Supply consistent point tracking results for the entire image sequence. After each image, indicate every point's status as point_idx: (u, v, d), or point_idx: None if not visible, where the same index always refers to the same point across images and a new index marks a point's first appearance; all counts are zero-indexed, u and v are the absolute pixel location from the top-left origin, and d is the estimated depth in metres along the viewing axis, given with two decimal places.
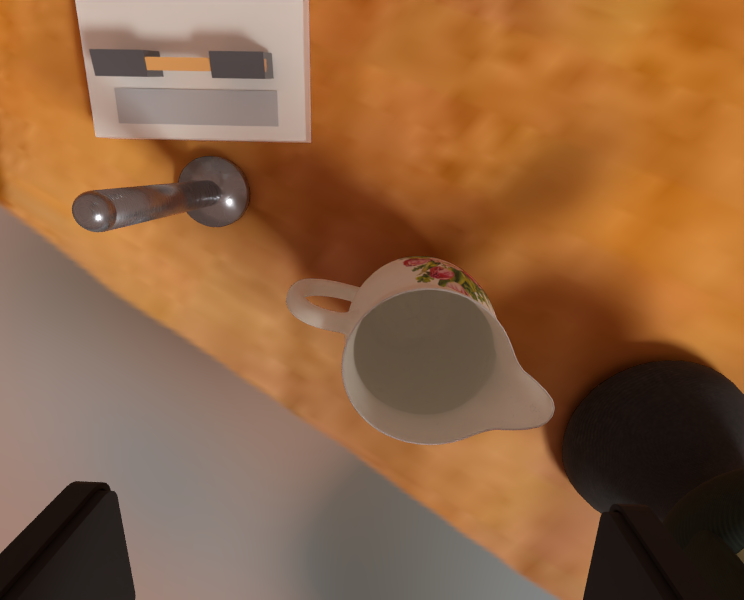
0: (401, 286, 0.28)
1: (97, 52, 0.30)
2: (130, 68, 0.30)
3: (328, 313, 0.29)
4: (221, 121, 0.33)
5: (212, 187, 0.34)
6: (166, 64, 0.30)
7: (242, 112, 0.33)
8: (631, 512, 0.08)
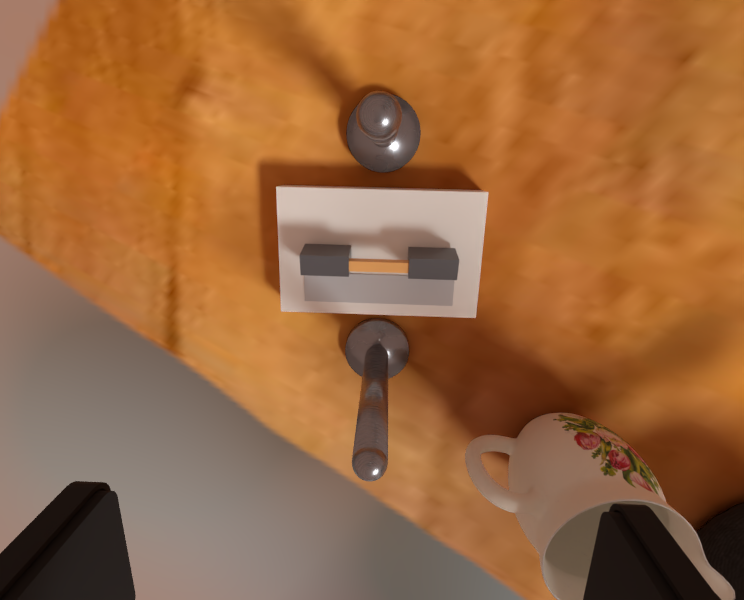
0: (589, 479, 0.31)
1: (306, 258, 0.33)
2: (334, 270, 0.33)
3: (520, 500, 0.32)
4: (399, 300, 0.36)
5: (386, 356, 0.37)
6: (368, 267, 0.33)
7: (420, 294, 0.36)
8: (631, 512, 0.08)
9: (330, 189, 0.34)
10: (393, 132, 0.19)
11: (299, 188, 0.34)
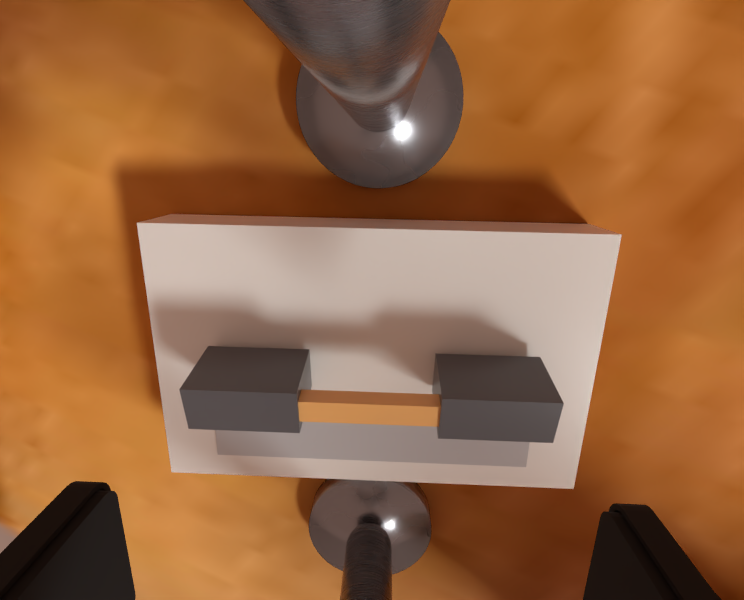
0: None
1: (197, 395, 0.14)
2: (265, 420, 0.14)
3: None
4: (415, 455, 0.17)
5: (388, 560, 0.18)
6: (343, 415, 0.14)
7: (459, 443, 0.17)
8: (631, 512, 0.08)
9: (259, 228, 0.15)
10: None
11: (189, 226, 0.15)
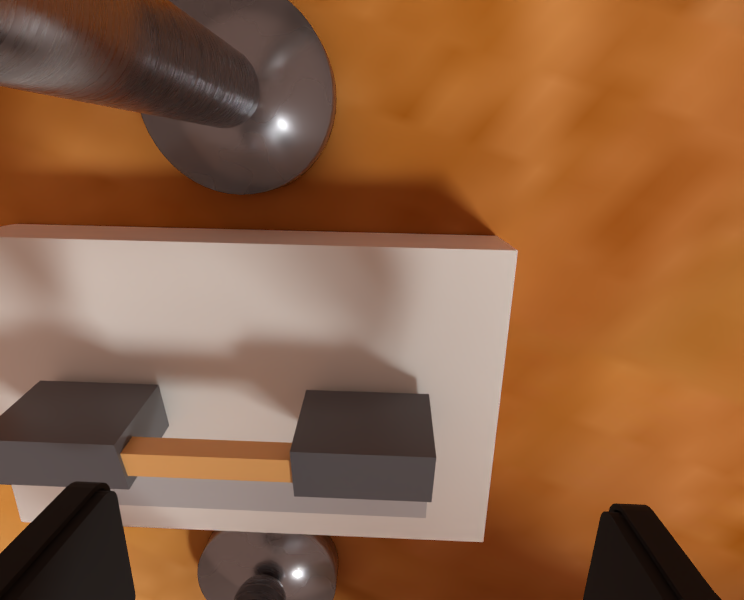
0: None
1: None
2: (85, 475, 0.12)
3: None
4: (298, 503, 0.15)
5: None
6: (178, 469, 0.12)
7: None
8: (631, 512, 0.08)
9: (89, 243, 0.12)
10: None
11: (7, 240, 0.13)
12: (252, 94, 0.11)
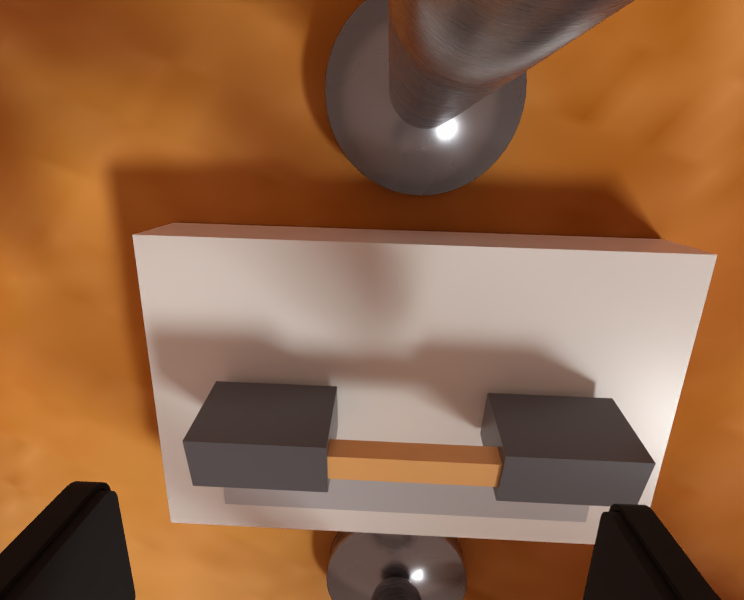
0: None
1: (204, 448, 0.11)
2: (287, 478, 0.12)
3: None
4: (456, 507, 0.15)
5: None
6: (382, 472, 0.11)
7: None
8: (631, 512, 0.08)
9: (279, 243, 0.12)
10: None
11: (195, 239, 0.12)
12: None
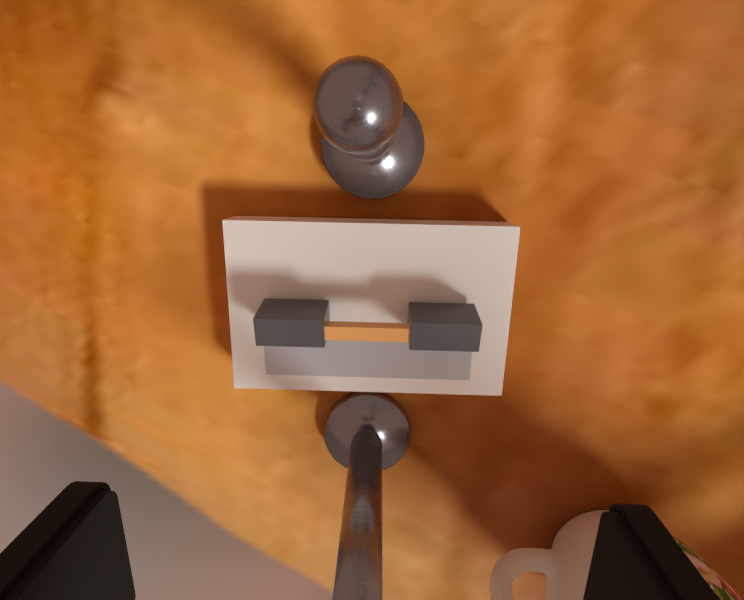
0: None
1: (263, 322, 0.23)
2: (304, 339, 0.23)
3: None
4: (397, 373, 0.26)
5: (380, 448, 0.27)
6: (352, 335, 0.23)
7: (426, 364, 0.26)
8: (631, 512, 0.08)
9: (298, 223, 0.24)
10: (386, 139, 0.10)
11: (255, 222, 0.24)
12: None
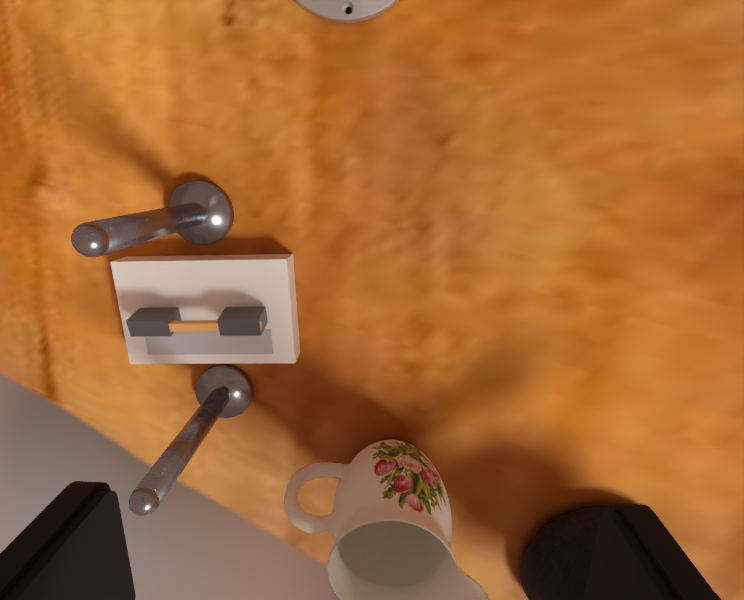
0: (371, 502, 0.37)
1: (132, 322, 0.39)
2: (157, 331, 0.39)
3: (316, 522, 0.37)
4: (228, 351, 0.42)
5: (223, 399, 0.43)
6: (185, 328, 0.39)
7: (244, 345, 0.42)
8: (631, 512, 0.08)
9: (155, 262, 0.40)
10: (102, 252, 0.25)
11: (129, 262, 0.40)
12: (203, 217, 0.39)
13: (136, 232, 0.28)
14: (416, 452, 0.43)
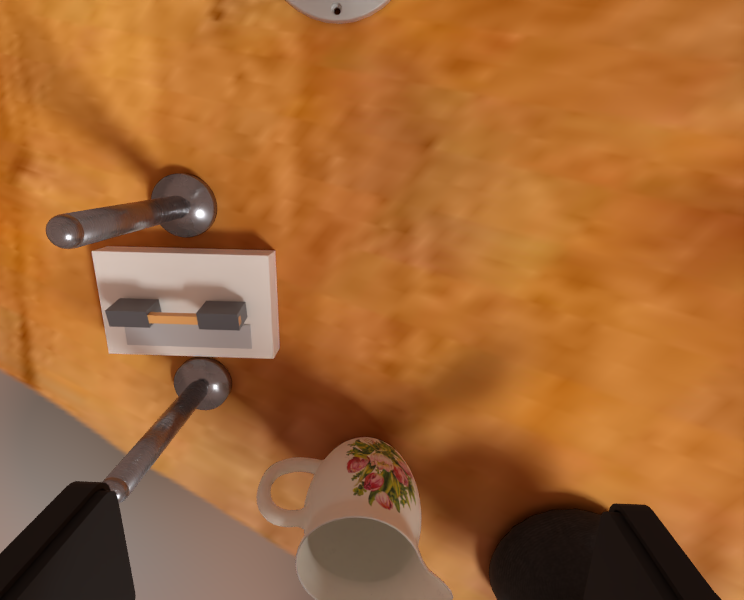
0: (341, 498, 0.37)
1: (111, 312, 0.39)
2: (136, 322, 0.39)
3: (287, 516, 0.38)
4: (207, 344, 0.42)
5: (200, 391, 0.43)
6: (164, 320, 0.39)
7: (224, 339, 0.42)
8: (631, 512, 0.08)
9: (137, 253, 0.40)
10: (76, 244, 0.26)
11: (111, 252, 0.40)
12: (185, 210, 0.39)
13: (113, 224, 0.29)
14: (390, 450, 0.44)
